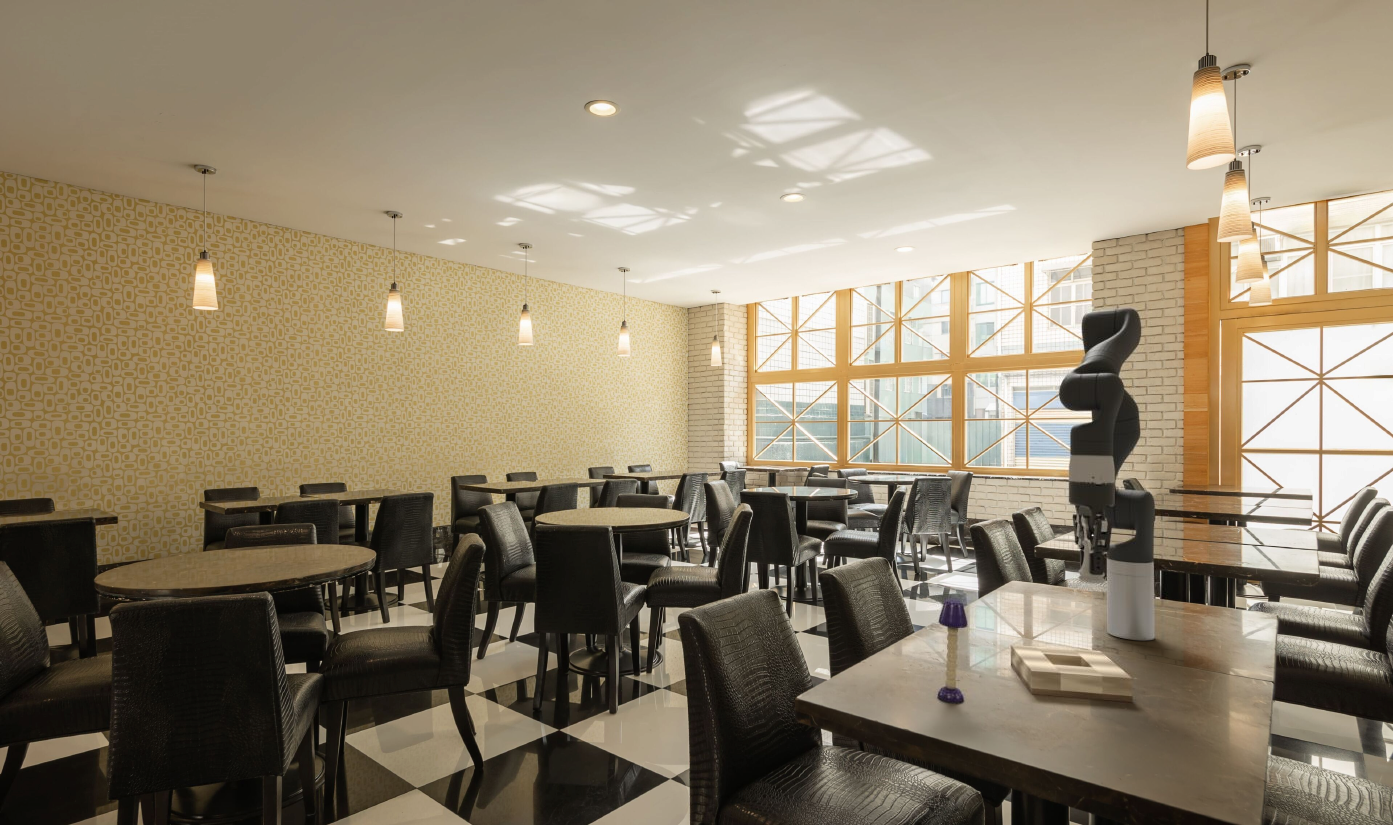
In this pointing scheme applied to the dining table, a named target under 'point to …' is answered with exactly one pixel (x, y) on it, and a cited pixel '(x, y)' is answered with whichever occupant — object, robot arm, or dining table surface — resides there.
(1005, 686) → the dining table surface
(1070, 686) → the socket block
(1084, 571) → the rook chess piece
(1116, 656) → the dining table surface
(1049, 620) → the dining table surface
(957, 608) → the toy lamp
